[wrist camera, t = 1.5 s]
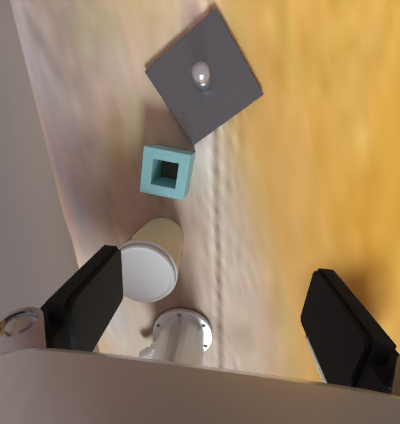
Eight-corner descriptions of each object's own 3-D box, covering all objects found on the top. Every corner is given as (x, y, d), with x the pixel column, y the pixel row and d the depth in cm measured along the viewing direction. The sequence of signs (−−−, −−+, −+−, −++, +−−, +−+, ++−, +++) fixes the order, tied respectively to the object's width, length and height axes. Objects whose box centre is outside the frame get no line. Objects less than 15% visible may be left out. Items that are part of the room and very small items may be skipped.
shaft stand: (194, 144, 35) (188, 147, 28) (146, 73, 32) (128, 57, 26) (262, 95, 32) (273, 85, 25) (216, 12, 29) (215, -24, 23)
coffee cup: (136, 211, 40) (103, 242, 28) (188, 214, 39) (176, 247, 28) (139, 257, 43) (110, 301, 31) (188, 260, 42) (176, 307, 31)
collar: (188, 190, 37) (183, 200, 32) (151, 183, 38) (139, 191, 32) (195, 151, 35) (190, 155, 30) (155, 144, 35) (143, 146, 30)
